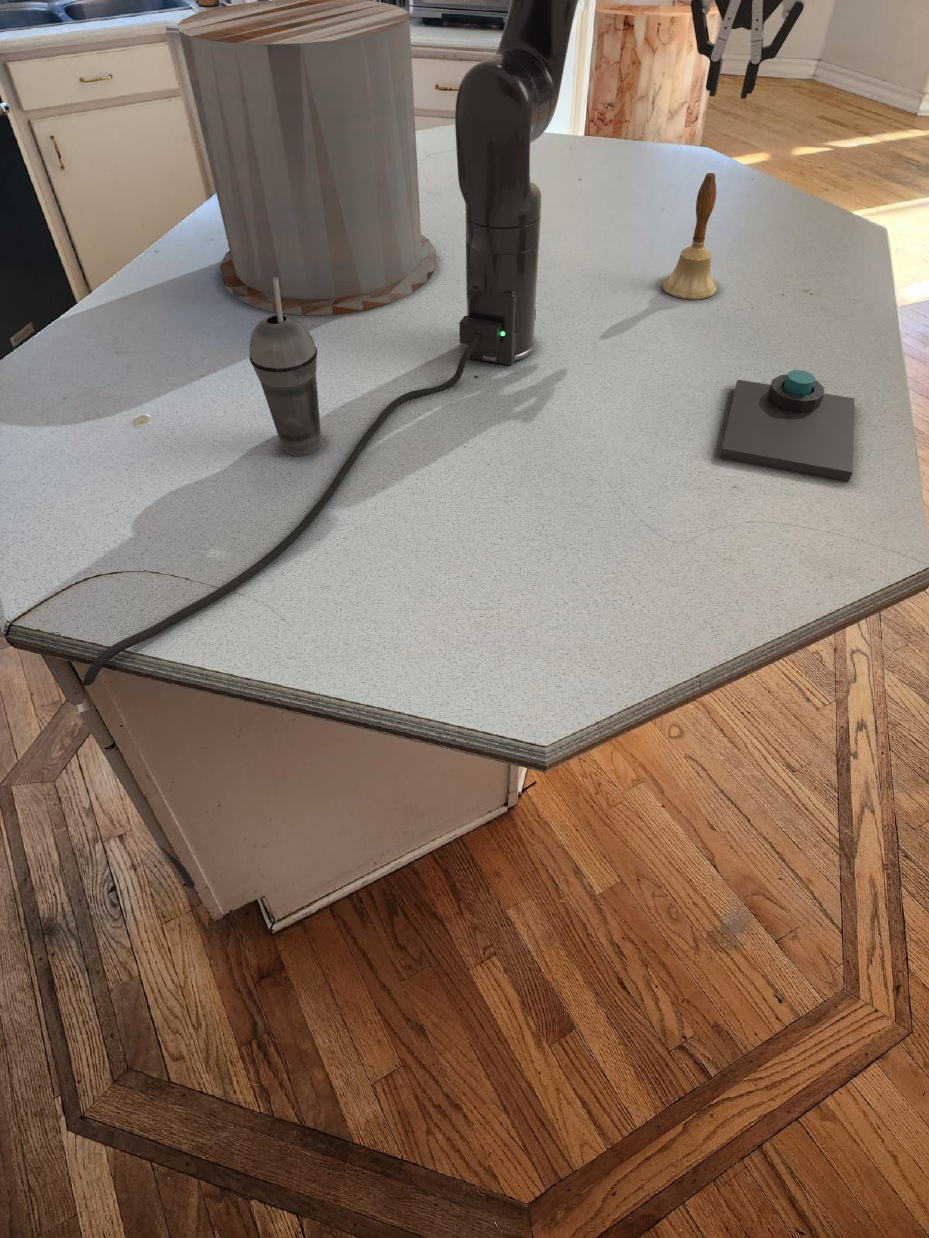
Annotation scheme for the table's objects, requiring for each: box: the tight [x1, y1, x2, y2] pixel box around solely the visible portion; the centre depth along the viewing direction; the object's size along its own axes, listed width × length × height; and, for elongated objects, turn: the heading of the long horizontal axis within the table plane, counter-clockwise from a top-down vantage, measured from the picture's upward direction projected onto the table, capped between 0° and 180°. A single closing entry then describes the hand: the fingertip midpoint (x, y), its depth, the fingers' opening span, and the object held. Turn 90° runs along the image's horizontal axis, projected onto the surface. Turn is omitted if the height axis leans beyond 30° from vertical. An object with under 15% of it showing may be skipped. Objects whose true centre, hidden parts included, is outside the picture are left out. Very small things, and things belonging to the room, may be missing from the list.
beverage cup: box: [249, 277, 322, 457], centre depth 83 cm, size 7×7×20 cm
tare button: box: [783, 369, 816, 396], centre depth 91 cm, size 3×3×2 cm
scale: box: [718, 373, 856, 483], centre depth 89 cm, size 16×14×3 cm
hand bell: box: [661, 172, 718, 301], centre depth 111 cm, size 8×8×16 cm
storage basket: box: [177, 0, 437, 316], centre depth 113 cm, size 35×35×32 cm
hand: (728, 95), depth 99 cm, fingers open, 3 cm apart
